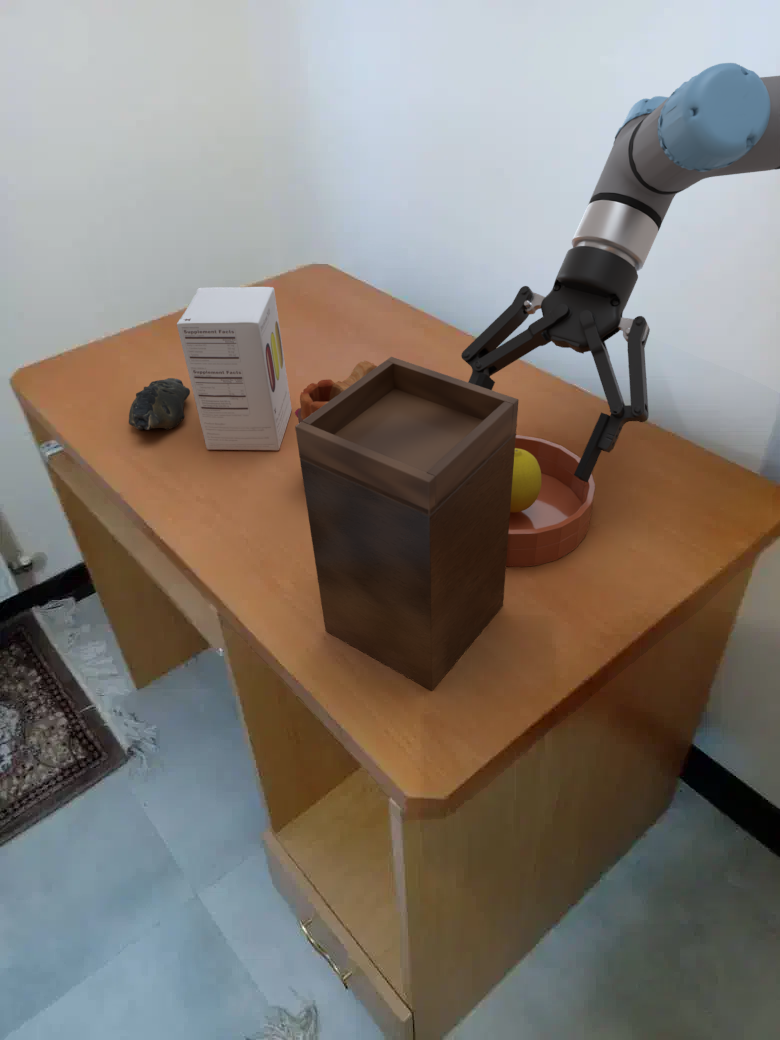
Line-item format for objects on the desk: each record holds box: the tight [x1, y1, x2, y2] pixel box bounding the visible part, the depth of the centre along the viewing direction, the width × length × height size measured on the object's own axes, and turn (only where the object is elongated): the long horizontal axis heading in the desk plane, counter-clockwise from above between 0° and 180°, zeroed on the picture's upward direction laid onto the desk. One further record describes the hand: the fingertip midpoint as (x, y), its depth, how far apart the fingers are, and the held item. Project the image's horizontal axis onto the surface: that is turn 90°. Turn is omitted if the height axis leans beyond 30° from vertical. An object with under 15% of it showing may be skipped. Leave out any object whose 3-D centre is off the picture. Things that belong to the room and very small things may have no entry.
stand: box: [299, 431, 517, 692], centre depth 67 cm, size 12×12×20 cm
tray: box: [294, 356, 520, 515], centre depth 60 cm, size 12×12×3 cm
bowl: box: [506, 434, 596, 568], centre depth 83 cm, size 16×16×4 cm
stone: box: [128, 377, 191, 431], centre depth 100 cm, size 7×13×5 cm, turn 177°
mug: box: [294, 360, 378, 424], centre depth 87 cm, size 12×7×13 cm, turn 133°
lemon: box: [510, 448, 541, 512], centre depth 82 cm, size 6×6×8 cm
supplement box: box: [176, 286, 293, 451], centre depth 93 cm, size 10×9×17 cm
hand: (519, 456), depth 80 cm, fingers open, 13 cm apart
